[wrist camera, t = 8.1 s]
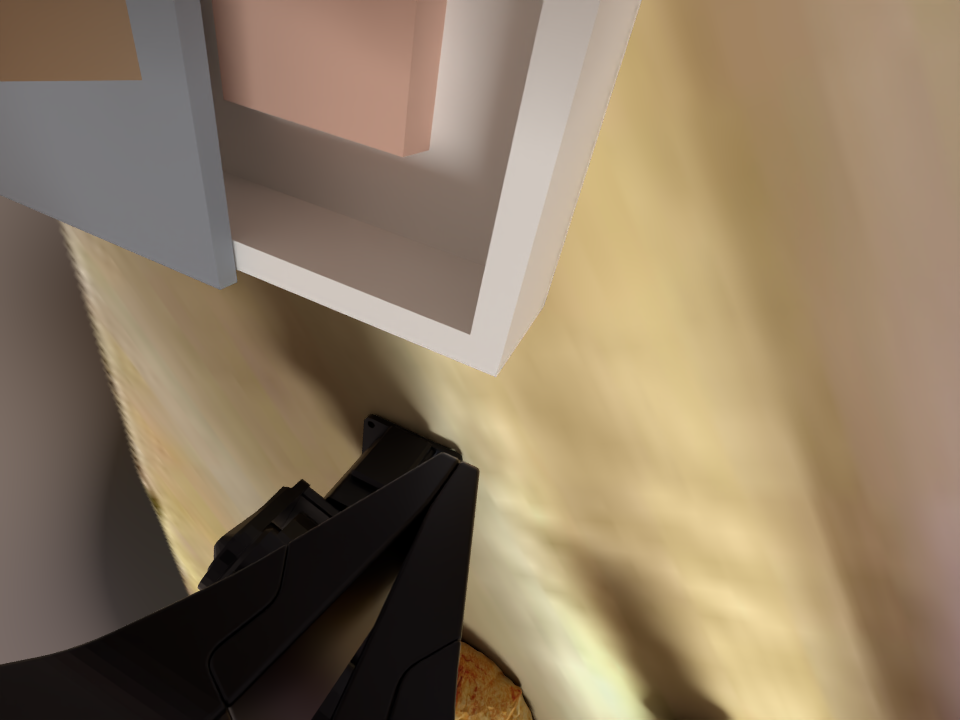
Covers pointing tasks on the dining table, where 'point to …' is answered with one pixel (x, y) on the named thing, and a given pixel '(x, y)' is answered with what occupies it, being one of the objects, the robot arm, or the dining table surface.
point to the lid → (116, 127)
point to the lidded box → (412, 153)
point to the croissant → (486, 690)
